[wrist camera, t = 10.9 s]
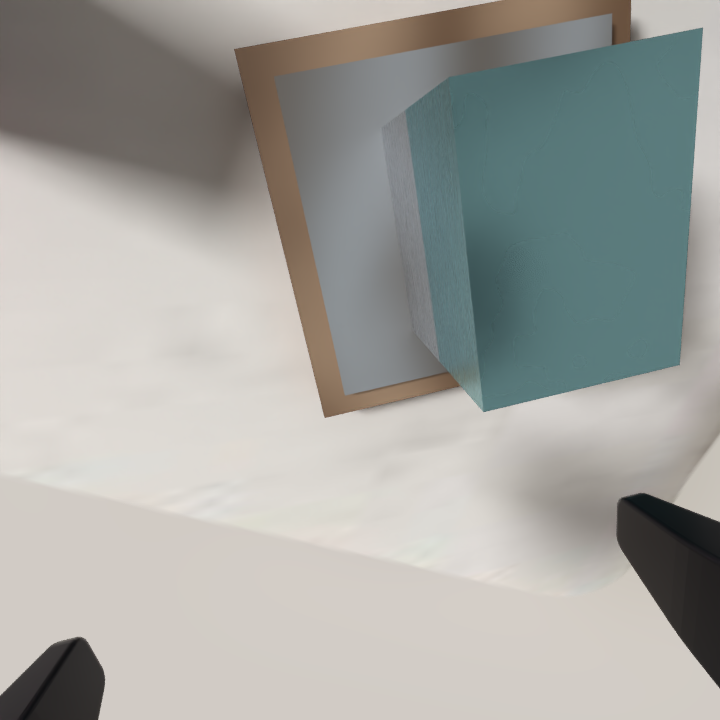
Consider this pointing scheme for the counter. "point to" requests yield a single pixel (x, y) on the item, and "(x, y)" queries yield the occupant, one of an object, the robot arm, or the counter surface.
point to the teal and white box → (550, 217)
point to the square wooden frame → (377, 169)
